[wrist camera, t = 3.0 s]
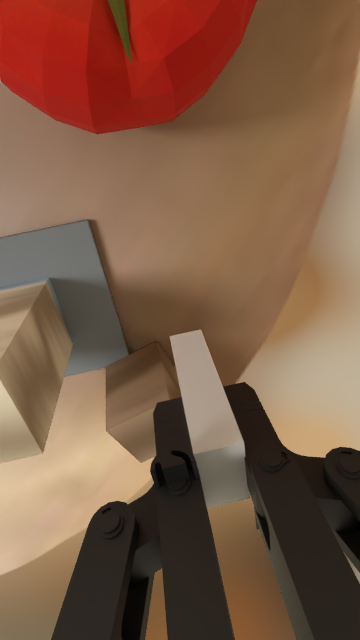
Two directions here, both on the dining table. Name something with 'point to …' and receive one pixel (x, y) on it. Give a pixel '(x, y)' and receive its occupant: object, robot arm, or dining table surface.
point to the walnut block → (138, 397)
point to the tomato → (117, 56)
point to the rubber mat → (70, 288)
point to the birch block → (30, 365)
